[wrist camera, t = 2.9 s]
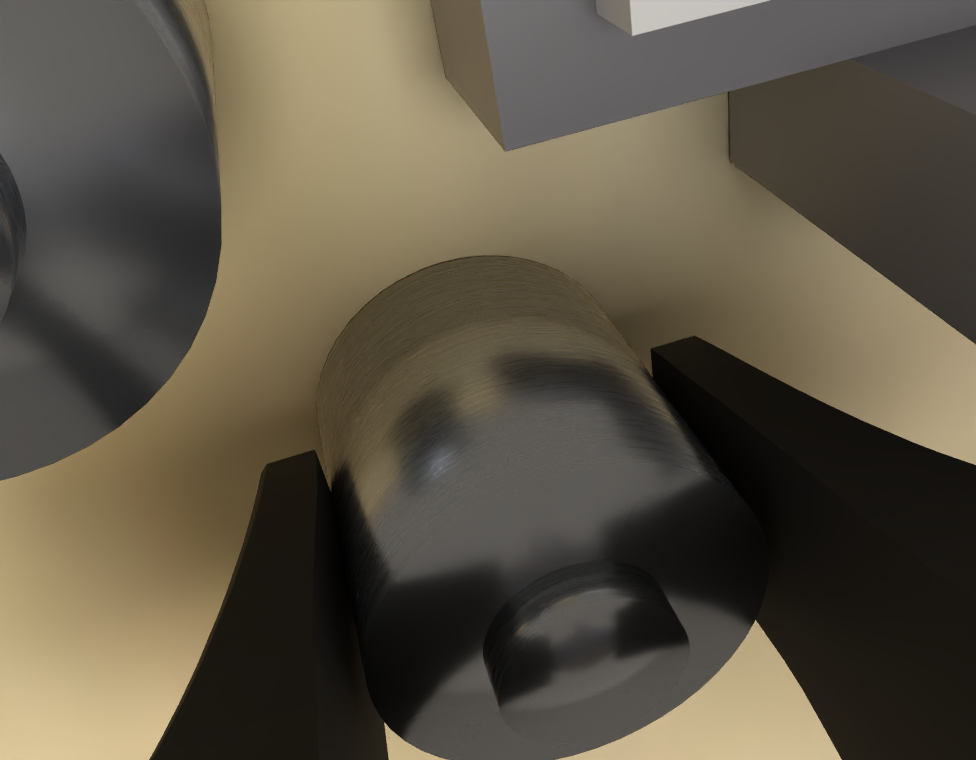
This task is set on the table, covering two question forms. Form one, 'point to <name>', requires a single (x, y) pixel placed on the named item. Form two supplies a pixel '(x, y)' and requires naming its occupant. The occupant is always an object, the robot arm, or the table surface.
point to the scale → (764, 106)
